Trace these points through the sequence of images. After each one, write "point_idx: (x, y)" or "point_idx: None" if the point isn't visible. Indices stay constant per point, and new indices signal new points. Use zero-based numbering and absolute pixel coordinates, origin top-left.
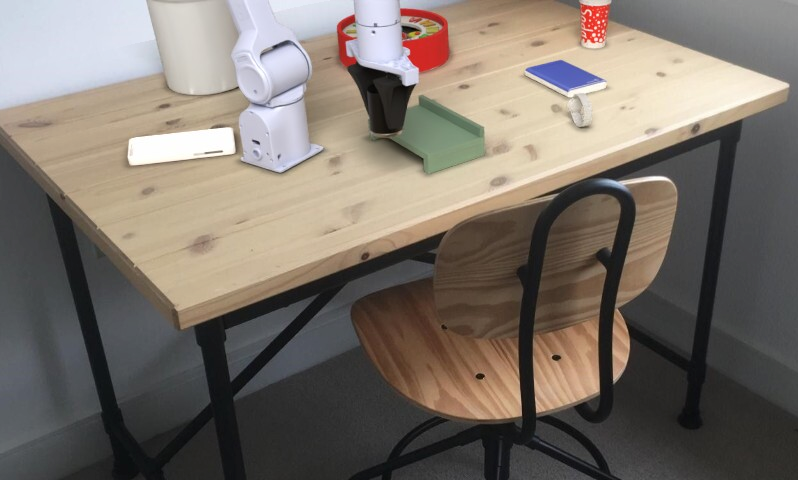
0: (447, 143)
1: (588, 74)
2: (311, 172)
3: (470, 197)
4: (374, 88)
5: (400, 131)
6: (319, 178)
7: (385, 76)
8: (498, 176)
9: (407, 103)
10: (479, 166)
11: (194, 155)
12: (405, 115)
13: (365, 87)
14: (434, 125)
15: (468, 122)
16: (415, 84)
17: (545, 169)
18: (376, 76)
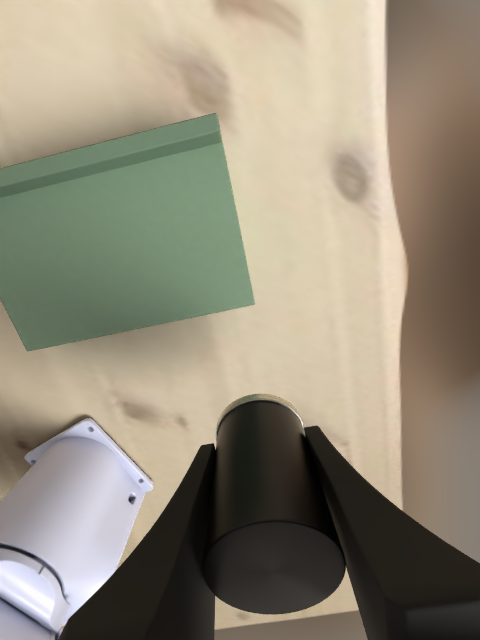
0: (217, 239)
1: None
2: (164, 449)
3: (376, 262)
4: (256, 593)
5: (298, 415)
6: (189, 445)
7: (179, 563)
8: (329, 166)
9: (362, 478)
10: (266, 184)
11: None
12: (329, 442)
13: (210, 596)
14: (103, 225)
15: (164, 145)
16: (466, 558)
17: (359, 28)
18: (190, 611)
